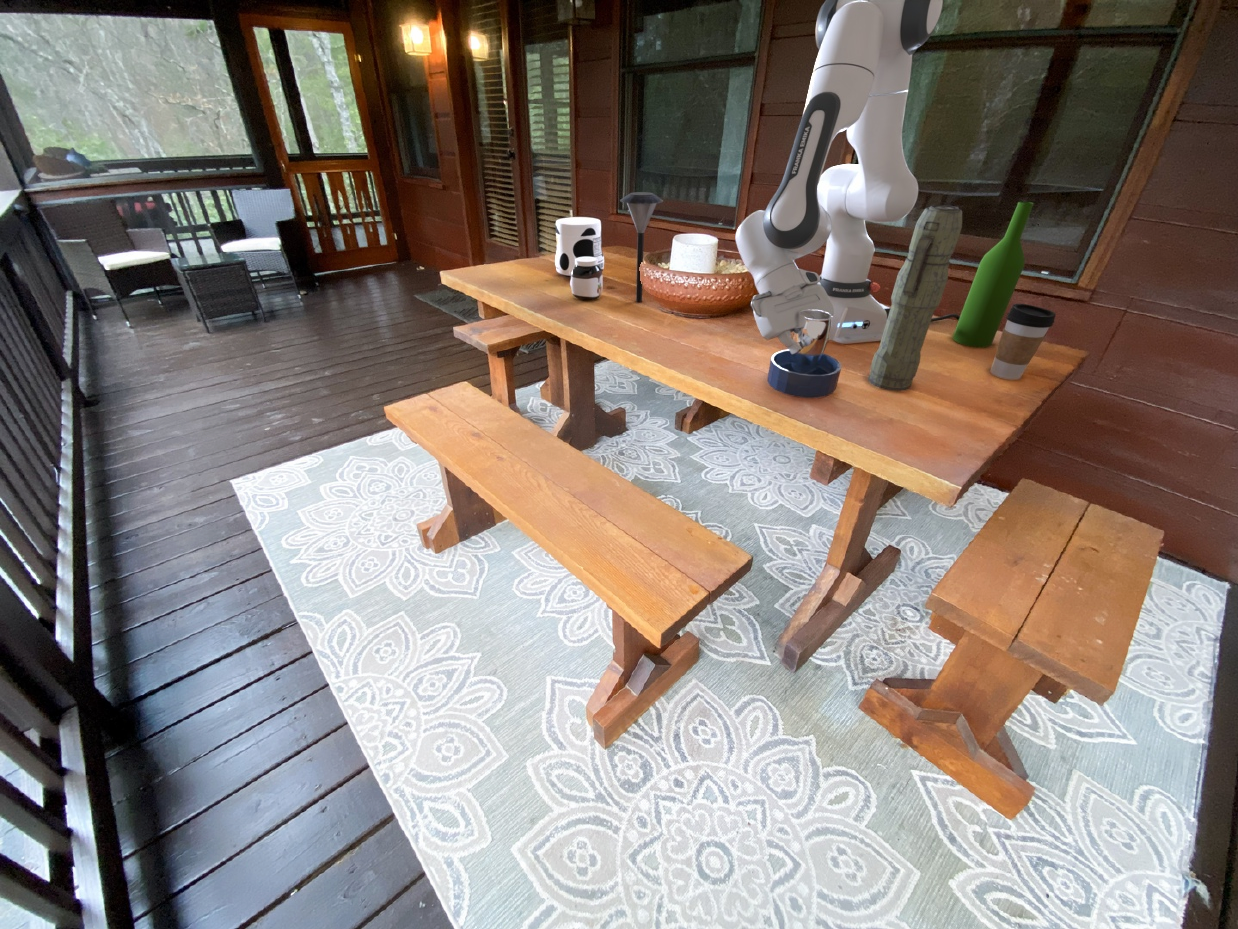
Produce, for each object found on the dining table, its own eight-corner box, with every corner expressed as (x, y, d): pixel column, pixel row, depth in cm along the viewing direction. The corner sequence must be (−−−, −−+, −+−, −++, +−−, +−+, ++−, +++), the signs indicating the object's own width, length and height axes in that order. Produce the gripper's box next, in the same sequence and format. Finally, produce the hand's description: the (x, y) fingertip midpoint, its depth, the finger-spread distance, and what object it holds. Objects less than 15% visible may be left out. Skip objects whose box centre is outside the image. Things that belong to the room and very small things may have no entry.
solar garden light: (666, 303, 163) (672, 194, 146) (632, 309, 157) (634, 197, 141) (645, 293, 171) (648, 189, 155) (612, 298, 166) (611, 192, 150)
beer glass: (819, 391, 111) (835, 321, 103) (784, 388, 112) (798, 318, 104) (815, 377, 117) (831, 310, 108) (783, 375, 118) (796, 308, 110)
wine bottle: (985, 337, 140) (1041, 200, 122) (995, 349, 133) (1056, 206, 115) (948, 333, 142) (997, 198, 124) (956, 345, 135) (1010, 204, 117)
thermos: (859, 385, 115) (910, 208, 95) (876, 368, 122) (926, 201, 103) (902, 397, 110) (965, 213, 91) (917, 379, 118) (977, 205, 98)
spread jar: (588, 303, 162) (587, 264, 156) (558, 297, 167) (556, 259, 161) (609, 294, 171) (609, 256, 164) (580, 288, 176) (579, 251, 169)
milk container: (554, 270, 195) (550, 217, 185) (600, 268, 198) (599, 215, 188) (558, 283, 181) (554, 226, 171) (608, 280, 184) (607, 224, 174)
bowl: (821, 371, 121) (826, 348, 118) (845, 400, 109) (852, 375, 106) (759, 372, 121) (763, 349, 117) (777, 400, 109) (782, 376, 106)
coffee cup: (987, 363, 125) (1014, 300, 117) (1029, 373, 121) (1060, 307, 112) (980, 375, 120) (1008, 309, 111) (1024, 385, 115) (1056, 317, 107)
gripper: (758, 288, 103) (790, 351, 102) (822, 272, 113) (852, 329, 112) (738, 305, 108) (768, 365, 107) (801, 288, 118) (829, 343, 117)
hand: (811, 347), depth 109 cm, fingers open, 8 cm apart
